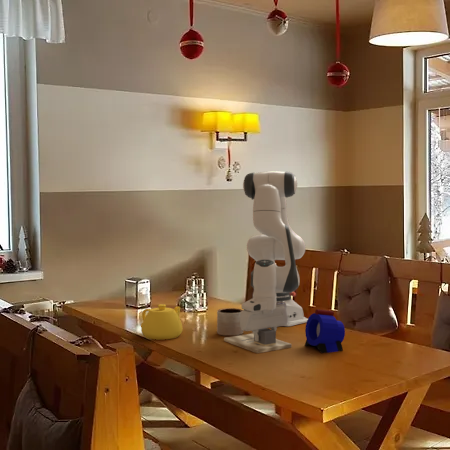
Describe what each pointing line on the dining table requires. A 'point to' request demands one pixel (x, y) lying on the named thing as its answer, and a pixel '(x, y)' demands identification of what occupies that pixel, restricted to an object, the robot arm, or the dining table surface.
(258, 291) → the robot arm
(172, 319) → the teapot
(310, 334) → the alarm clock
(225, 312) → the planter
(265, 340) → the block
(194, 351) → the dining table surface
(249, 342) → the board
